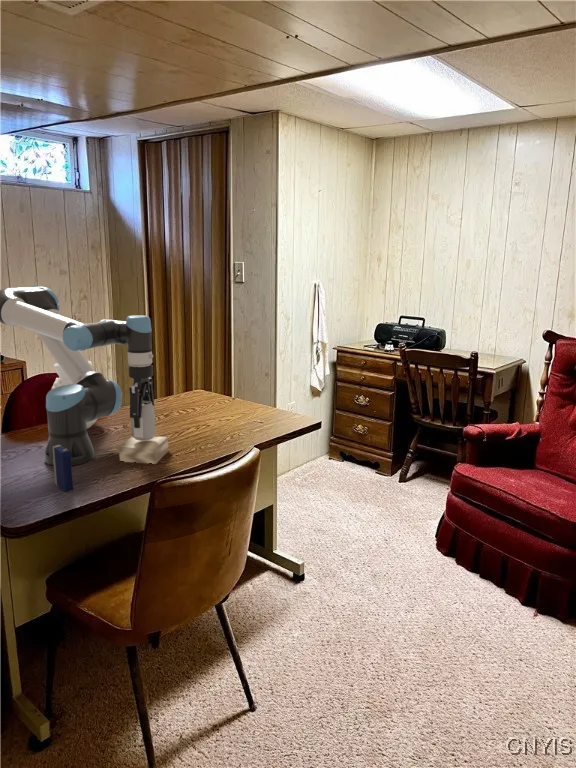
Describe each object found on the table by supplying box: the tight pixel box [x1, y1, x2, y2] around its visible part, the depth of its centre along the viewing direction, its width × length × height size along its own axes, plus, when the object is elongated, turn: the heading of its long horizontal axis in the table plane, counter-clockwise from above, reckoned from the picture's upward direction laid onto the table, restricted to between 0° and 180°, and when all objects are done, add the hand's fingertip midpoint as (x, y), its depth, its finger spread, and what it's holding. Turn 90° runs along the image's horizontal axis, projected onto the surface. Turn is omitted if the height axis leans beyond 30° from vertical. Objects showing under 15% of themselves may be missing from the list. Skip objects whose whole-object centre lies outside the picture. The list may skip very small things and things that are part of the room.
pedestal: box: [118, 435, 169, 465], centre depth 187 cm, size 12×12×5 cm
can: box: [130, 401, 157, 441], centre depth 185 cm, size 8×8×12 cm
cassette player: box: [53, 445, 74, 492], centre depth 161 cm, size 7×2×12 cm, turn 43°
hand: (143, 432), depth 186 cm, fingers closed on can, 7 cm apart
